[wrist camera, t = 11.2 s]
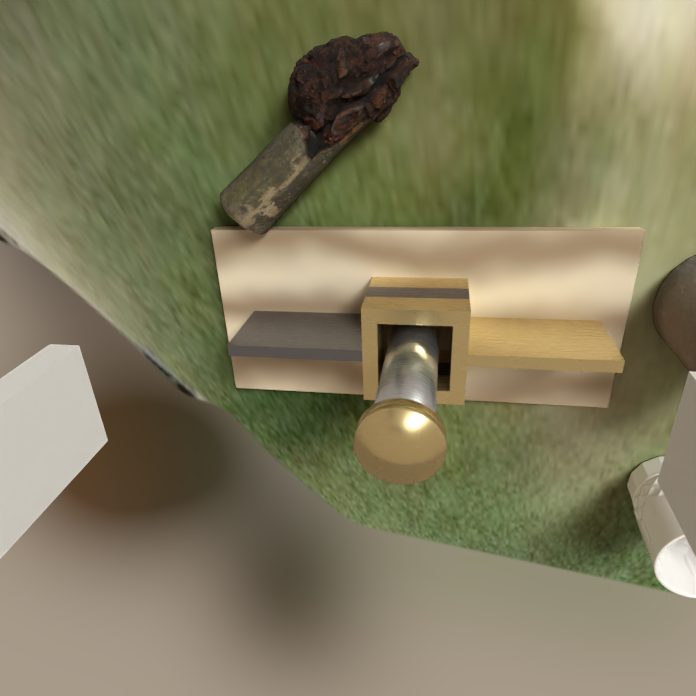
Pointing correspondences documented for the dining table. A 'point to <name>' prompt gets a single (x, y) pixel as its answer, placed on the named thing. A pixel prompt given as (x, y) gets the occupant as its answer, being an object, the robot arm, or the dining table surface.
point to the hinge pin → (404, 411)
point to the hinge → (433, 310)
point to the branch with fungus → (319, 122)
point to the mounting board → (432, 262)
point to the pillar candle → (678, 312)
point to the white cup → (662, 531)
